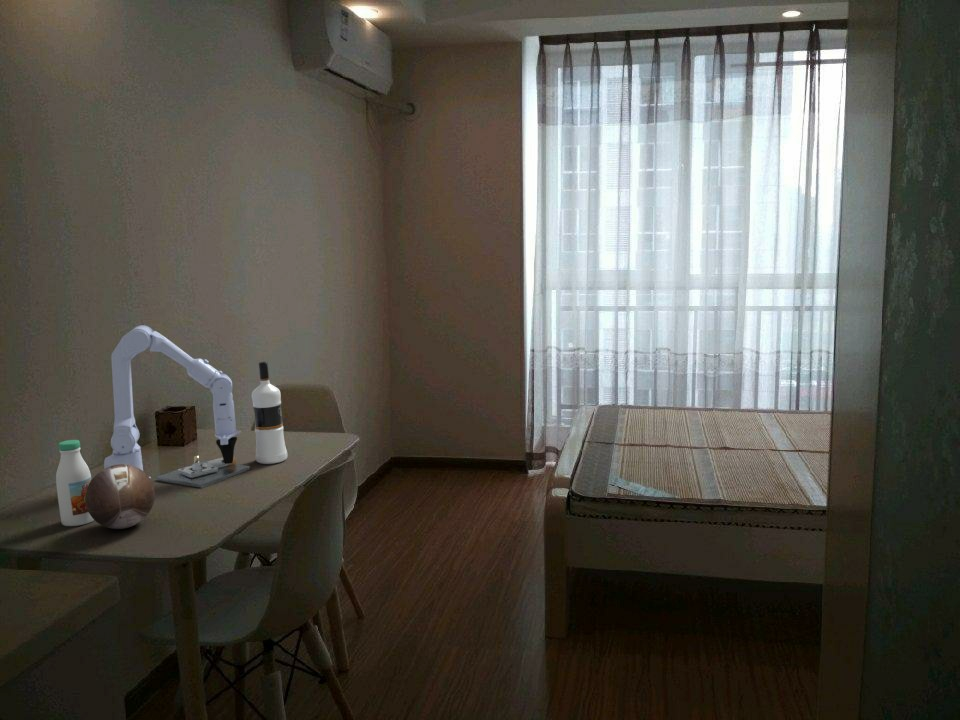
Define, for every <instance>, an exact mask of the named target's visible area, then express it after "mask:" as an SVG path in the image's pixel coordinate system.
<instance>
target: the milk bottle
mask: <svg viewBox="0 0 960 720" xmlns="http://www.w3.org/2000/svg"><path fill="white" fill-rule="evenodd" d="M81 449H82V448H81V442H80V440H79V439H68V440H64V441H61V442H59V443H58V450H59V451H58V452H59V453H60V459H59V463H58V465H57V466H58V467H57V470H56V475H55V483H56V485H55V486H56V491H57V492H56V493H57V502H58V509H59V515H60V521H61V525H63V526H65V527H77V526H82V525H87V524H89V523H91V522H94V521H95V520H94V519H93V518H92V517H91V515H90V514H89V512H88V510H87V507H86V502H85V495H86V490H87V487H88V485H89V483H90V482H91V480H92V479H93V478H92V474H91V471H90V468H89V466H88V464H87V463H86V461H85V460H84V459H83V456H82V454H81V452H80V451H81Z"/></svg>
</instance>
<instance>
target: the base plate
mask: <svg viewBox="0 0 960 720" xmlns="http://www.w3.org/2000/svg"><path fill="white" fill-rule="evenodd" d="M207 461H211V459H209V460H207V459H204V460H201V461H200V455H194V456H193V463H192V464H190V465H187V466H185V467H189V466H192V468H193V471H198V470H202V469H203V463H207ZM185 467H183V468H185ZM250 470H251V466H250V465H244V464H237V463H236V464H232V465H227V466H224V467H220V468H218V471H216V472H212V473H208V474H204V475H201V476H197V477H193V478H190V477H188V476H185V475H183V474H180V473H178V469H176V470H173V471H169V472H166V473H164V474H161V475H158V476H156V477H155V479H156V480H155V481H158V482H162V483H163V482H164V483H168V484H169V483H170V484H174V485H175V484H177V485H182V486H187V487H193V488H200V489H203V488H205V487H208V486H210V485H214V484H216V483H219V482H221V481H223V480H226V479H229V478H232V477H235V476H237V475H239V474H242V473H245V472H247V471H250Z"/></svg>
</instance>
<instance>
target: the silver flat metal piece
mask: <svg viewBox="0 0 960 720" xmlns="http://www.w3.org/2000/svg"><path fill="white" fill-rule="evenodd" d="M232 464H237V461H236V456H235V455H233V463H229V464H225V462H224V460H223V457H219V458H215V459H212V460H211V459H210V461H207V463H203V469H202V470H198V471H193V468H192V466H189V465H188V466H189V467H187V466H185V468H184V467H182V468H178V469H177V470H178V473H180V474H183V475H185V476H188V477H190V478H193V477H197V476H201V475H204V474H208V473H212V472H216V471H218V468H220V467H224V466H227V465H232Z"/></svg>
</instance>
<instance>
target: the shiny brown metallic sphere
mask: <svg viewBox="0 0 960 720" xmlns="http://www.w3.org/2000/svg"><path fill="white" fill-rule="evenodd" d="M149 477H150V476H149V475H148V474H147V473H146V472H145V471H144V470H143V471H142V470H141V469H139V468H137V467H135V466H131V465H125V464H119V465H113V466H110V467H107V468H105V469H104V468H103V469H102V470H100V471H99V472H97V473H96V474H95V475H94V476H93V477H92V478H91V479H92V480H91V482H90V483H89V485H88V487H87V490H86V495H85V502H86V507H87V510H88V512H89V514H90V515H91V517H92V518H93V519H94V520H93V521H95V522H96V523H97V524H98V525H101V526H103V527H105V528H108V529H114V530H120V529H121V530H123V529H128V528H131V527H134V526H136V525H137V524H139V523H141V522H142V521H143V520H144V519H145V518H146V517H147V516H148V515H149V514H150V511H151V510H152V509H153V506H154V504H155V499H156V491H155V490H156V489H155V486H154V483H153V481H152V478H151V479H150V478H149Z"/></svg>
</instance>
